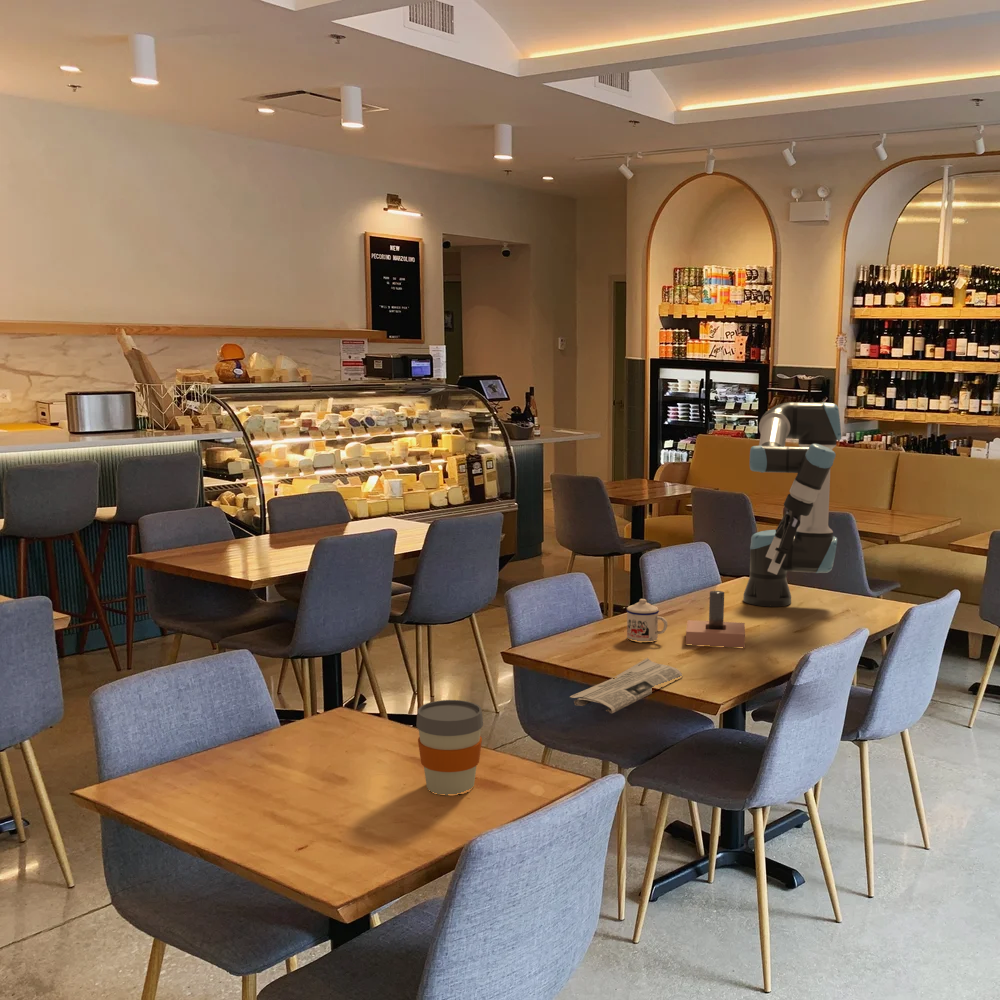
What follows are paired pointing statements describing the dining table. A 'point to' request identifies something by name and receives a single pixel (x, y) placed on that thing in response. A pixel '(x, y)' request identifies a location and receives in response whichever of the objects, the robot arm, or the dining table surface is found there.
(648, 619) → the teacup with lid
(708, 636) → the pink block with hole
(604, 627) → the dining table surface
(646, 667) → the newspaper
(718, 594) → the pin
